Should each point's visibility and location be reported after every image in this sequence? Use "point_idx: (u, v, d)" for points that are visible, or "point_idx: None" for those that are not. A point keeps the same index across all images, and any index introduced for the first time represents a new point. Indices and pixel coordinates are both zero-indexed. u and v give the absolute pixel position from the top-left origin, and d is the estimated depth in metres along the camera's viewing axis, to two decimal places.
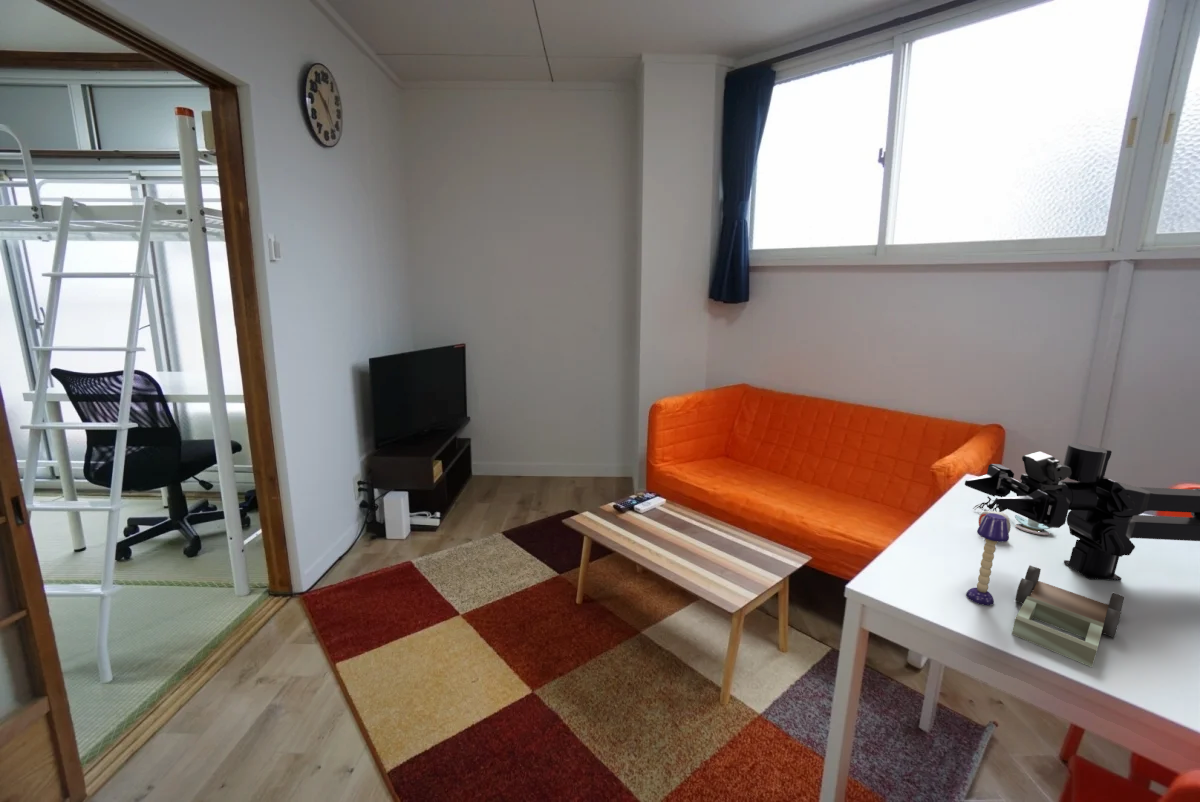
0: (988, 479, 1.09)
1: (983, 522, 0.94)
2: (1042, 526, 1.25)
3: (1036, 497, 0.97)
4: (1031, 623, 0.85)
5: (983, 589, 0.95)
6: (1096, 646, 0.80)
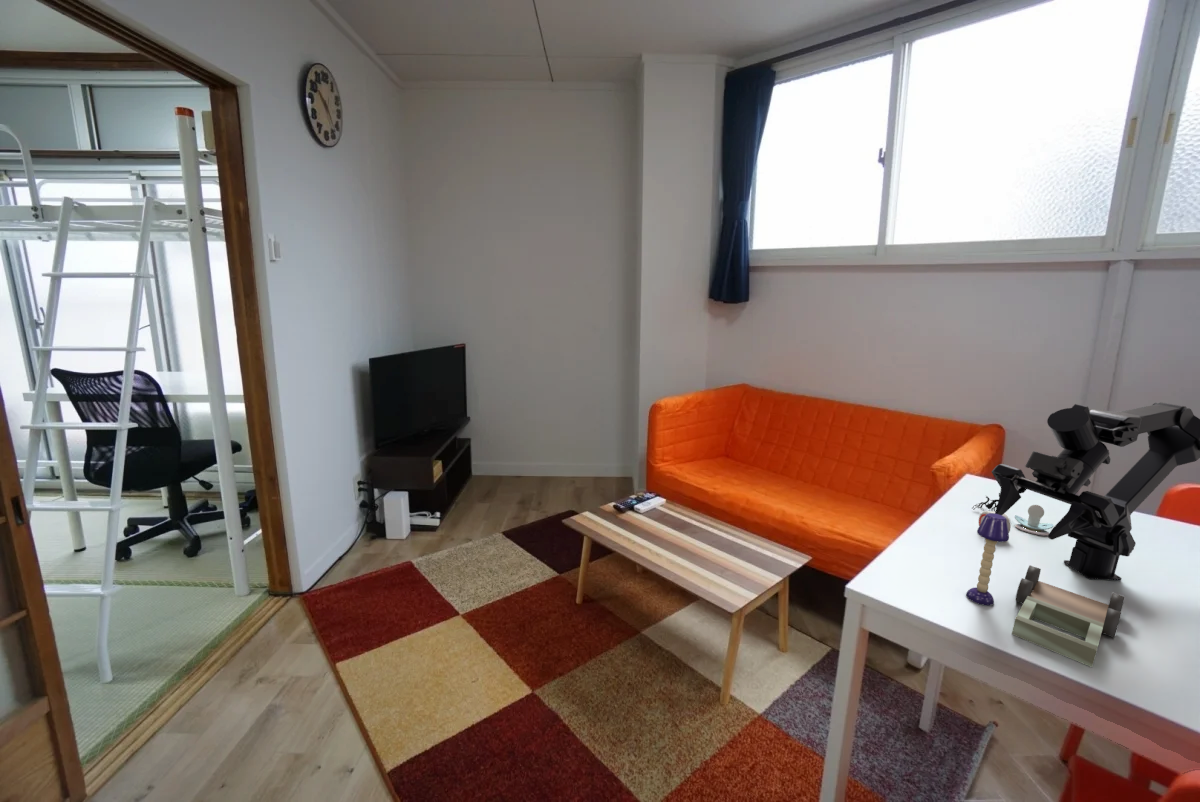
0: (1008, 495, 1.00)
1: (983, 522, 0.94)
2: (1042, 526, 1.24)
3: (1080, 512, 0.90)
4: (1031, 623, 0.85)
5: (983, 589, 0.95)
6: (1096, 646, 0.80)
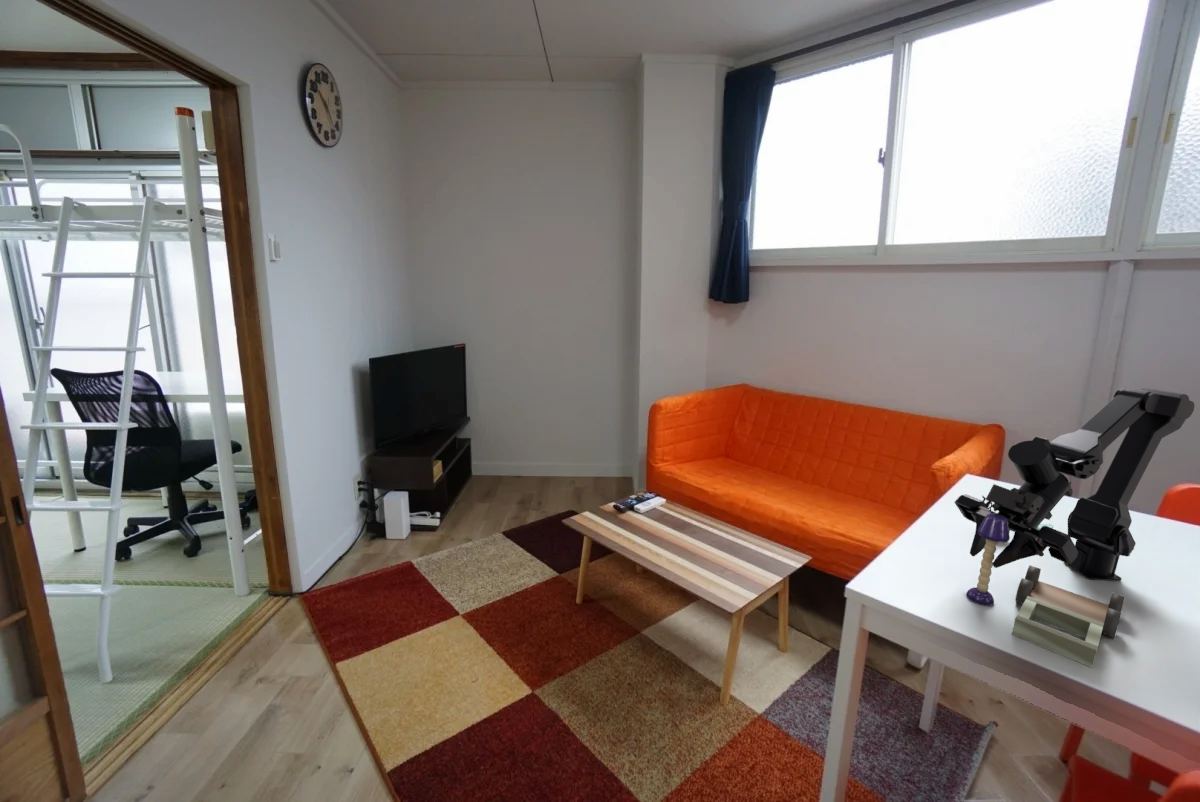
0: None
1: (984, 522, 0.94)
2: None
3: (1022, 541, 0.90)
4: (1031, 623, 0.85)
5: (983, 589, 0.95)
6: (1096, 646, 0.80)
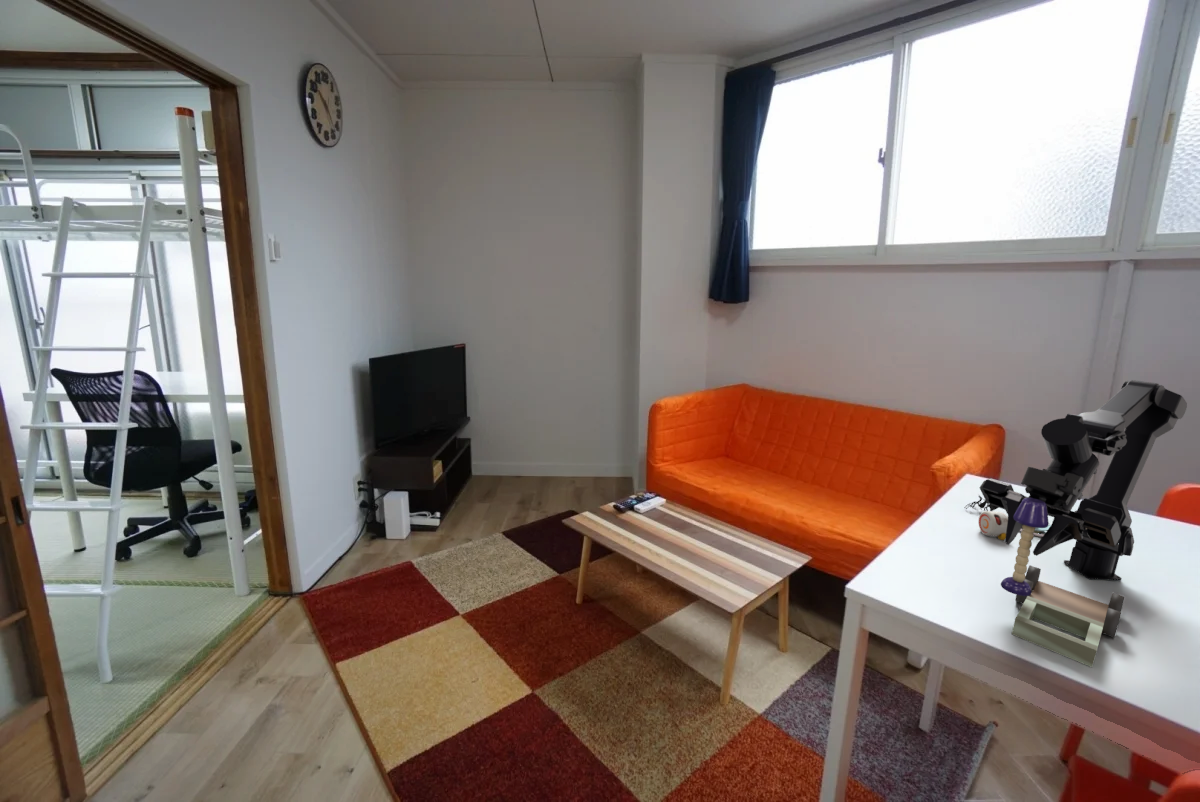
0: None
1: (1021, 508, 0.88)
2: (1042, 528, 1.24)
3: (1064, 526, 0.85)
4: (1031, 623, 0.85)
5: (1021, 579, 0.89)
6: (1096, 646, 0.80)
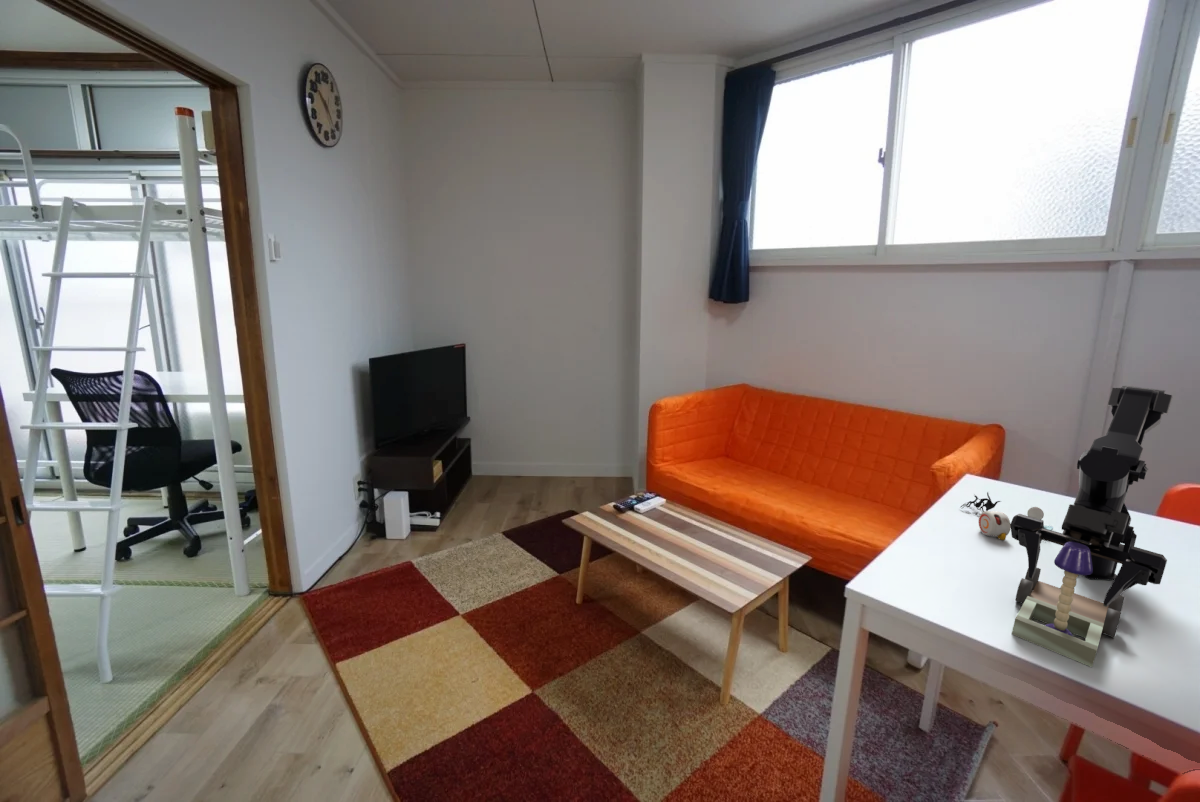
0: (1037, 552, 0.88)
1: (1065, 554, 0.83)
2: None
3: (1134, 574, 0.79)
4: (1031, 623, 0.85)
5: (1064, 627, 0.85)
6: (1096, 646, 0.80)
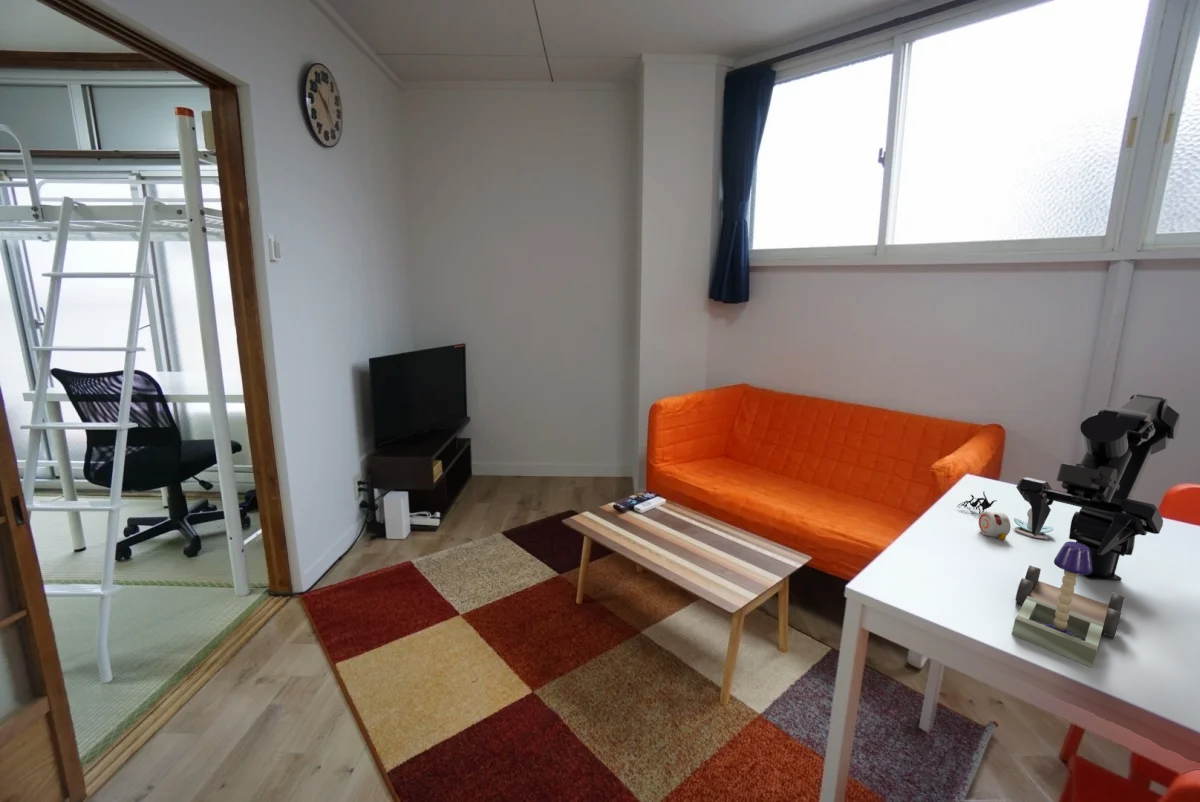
0: (1041, 510, 0.95)
1: (1065, 554, 0.83)
2: (1041, 529, 1.23)
3: (1126, 523, 0.85)
4: (1031, 623, 0.85)
5: (1064, 627, 0.85)
6: (1096, 646, 0.80)
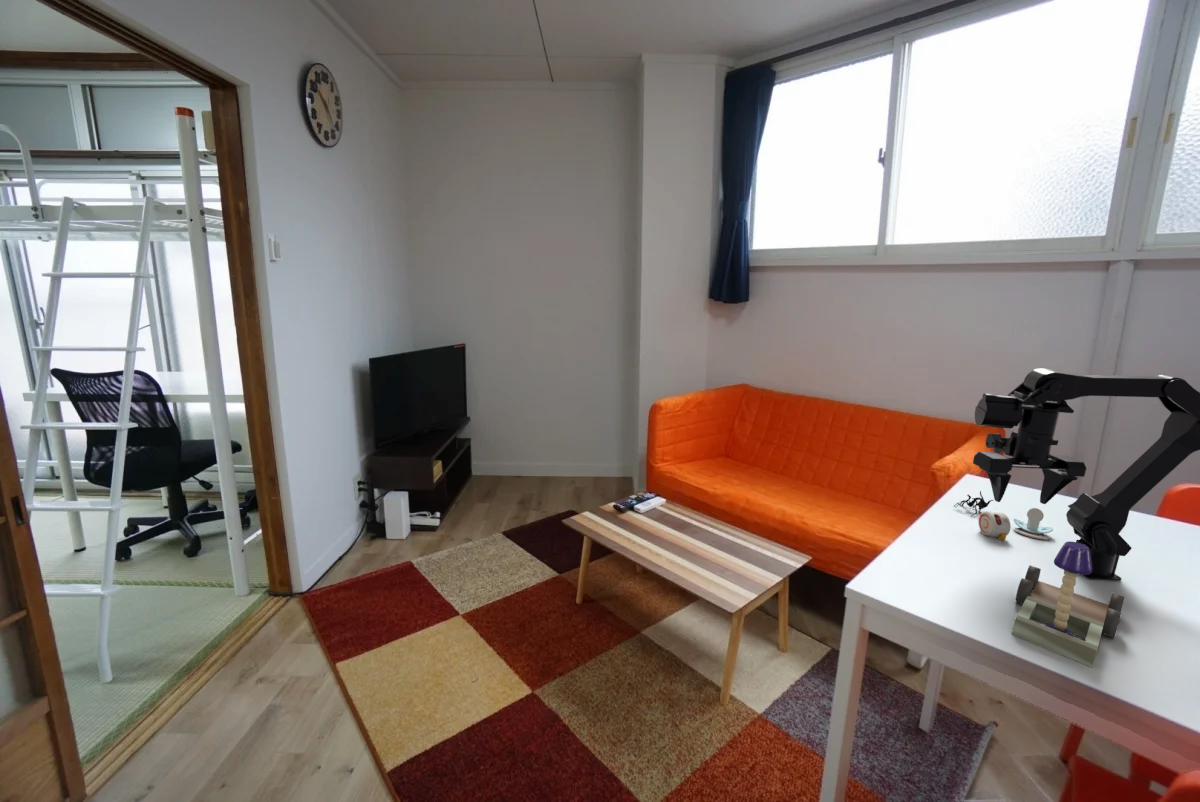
0: (1044, 481, 1.08)
1: (1065, 554, 0.83)
2: (1041, 530, 1.22)
3: None
4: (1031, 623, 0.85)
5: (1064, 627, 0.85)
6: (1096, 646, 0.80)
